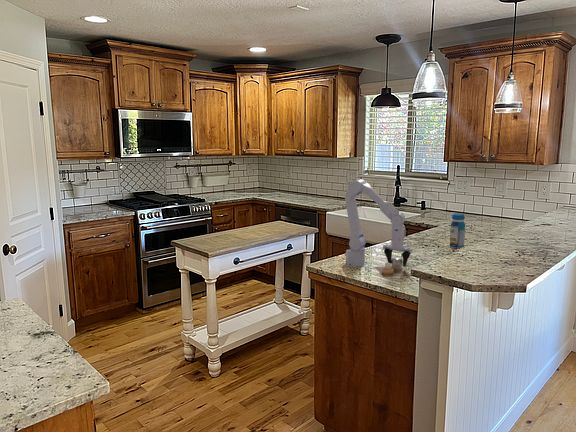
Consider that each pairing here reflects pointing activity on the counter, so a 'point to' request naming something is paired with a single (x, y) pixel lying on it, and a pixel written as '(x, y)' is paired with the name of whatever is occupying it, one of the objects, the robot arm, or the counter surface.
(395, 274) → the board
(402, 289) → the counter surface
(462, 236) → the beverage bottle
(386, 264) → the jar
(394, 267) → the cap
